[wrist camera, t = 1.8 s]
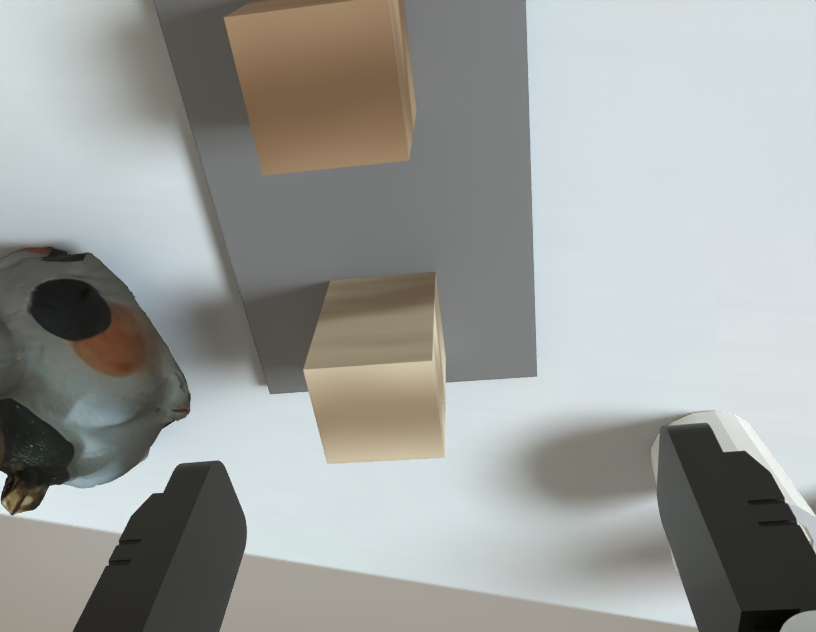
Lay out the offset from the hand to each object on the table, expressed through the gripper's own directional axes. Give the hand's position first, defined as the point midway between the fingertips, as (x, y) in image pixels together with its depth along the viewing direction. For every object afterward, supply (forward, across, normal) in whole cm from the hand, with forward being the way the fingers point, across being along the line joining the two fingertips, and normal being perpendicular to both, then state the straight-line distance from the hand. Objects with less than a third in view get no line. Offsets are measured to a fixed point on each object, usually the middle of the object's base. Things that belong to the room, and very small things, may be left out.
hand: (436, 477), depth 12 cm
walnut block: (+19, +3, -4) cm, 19 cm away
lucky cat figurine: (+20, +22, +8) cm, 30 cm away
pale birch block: (+19, +4, +8) cm, 21 cm away
